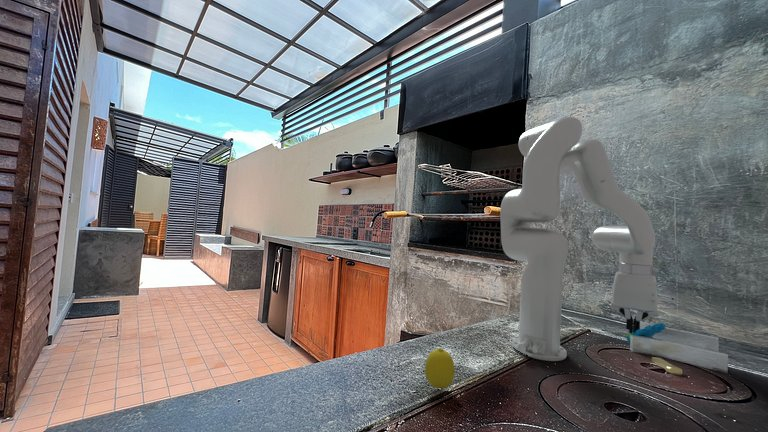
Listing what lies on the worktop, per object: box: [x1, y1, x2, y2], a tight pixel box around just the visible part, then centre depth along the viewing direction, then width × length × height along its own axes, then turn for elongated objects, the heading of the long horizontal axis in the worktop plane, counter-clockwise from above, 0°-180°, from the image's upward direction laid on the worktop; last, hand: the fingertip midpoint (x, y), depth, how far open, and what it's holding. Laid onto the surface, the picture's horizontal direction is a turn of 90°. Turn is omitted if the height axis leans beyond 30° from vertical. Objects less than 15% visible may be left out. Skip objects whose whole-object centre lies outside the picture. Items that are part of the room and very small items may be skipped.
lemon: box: [424, 347, 456, 390], centre depth 59 cm, size 6×6×8 cm
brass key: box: [651, 356, 683, 376], centre depth 72 cm, size 7×3×1 cm, turn 173°
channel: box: [629, 320, 729, 374], centre depth 83 cm, size 20×18×4 cm
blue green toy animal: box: [625, 322, 666, 343], centre depth 84 cm, size 11×6×10 cm
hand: (632, 332), depth 89 cm, fingers closed
